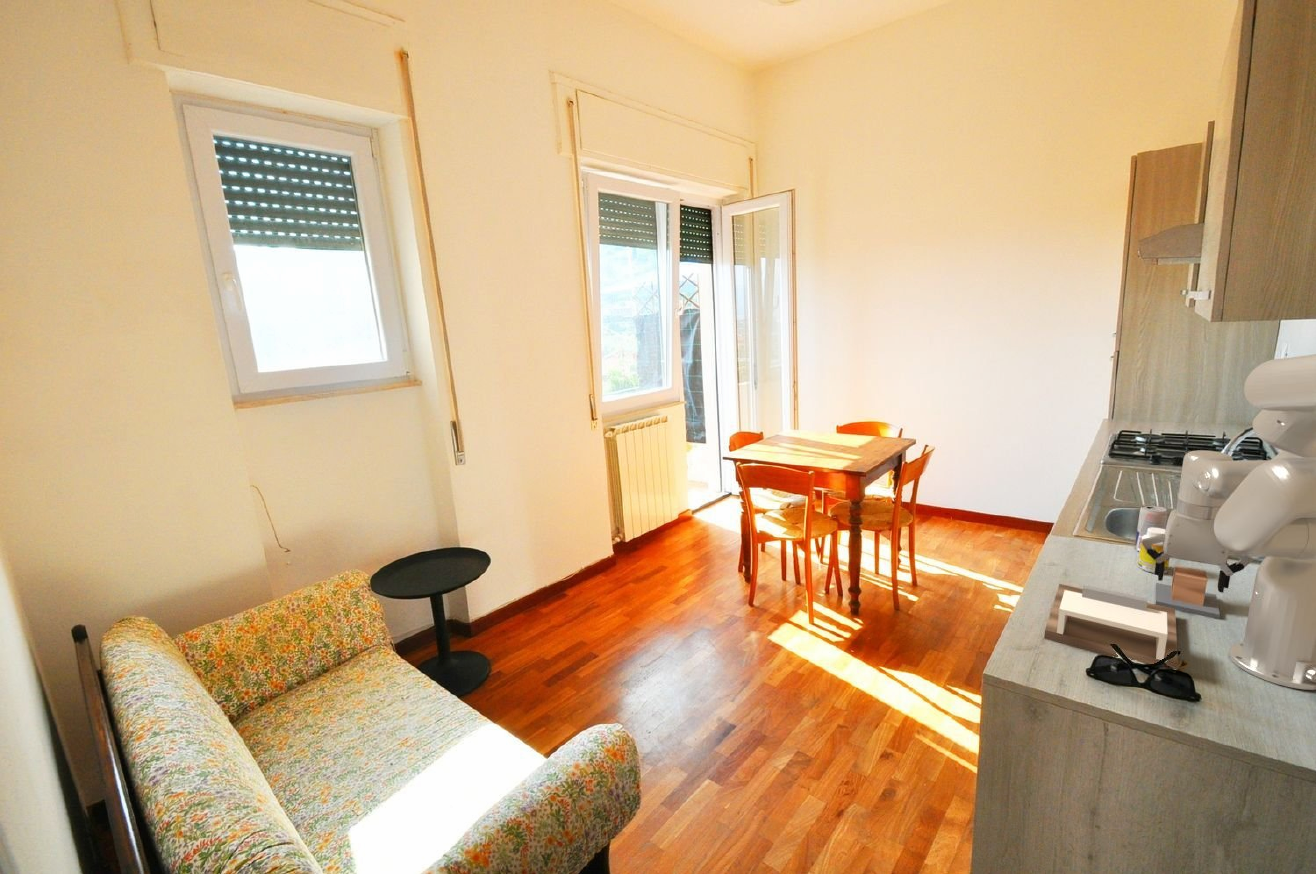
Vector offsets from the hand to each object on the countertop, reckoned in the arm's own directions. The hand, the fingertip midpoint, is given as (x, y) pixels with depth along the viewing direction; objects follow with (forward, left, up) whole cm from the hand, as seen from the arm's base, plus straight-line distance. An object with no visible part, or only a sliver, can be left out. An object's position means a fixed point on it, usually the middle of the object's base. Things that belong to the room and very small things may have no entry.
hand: (1189, 584), depth 124 cm
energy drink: (+22, -16, -5) cm, 28 cm away
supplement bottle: (+14, -8, -5) cm, 17 cm away
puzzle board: (-4, +23, -5) cm, 24 cm away
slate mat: (0, 0, -5) cm, 5 cm away
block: (0, 0, -4) cm, 4 cm away
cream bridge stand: (-8, +29, -2) cm, 30 cm away
